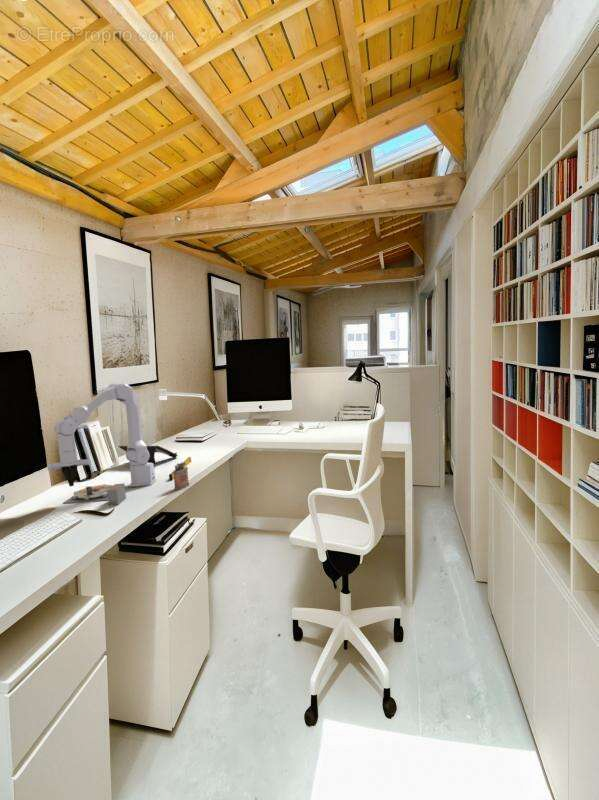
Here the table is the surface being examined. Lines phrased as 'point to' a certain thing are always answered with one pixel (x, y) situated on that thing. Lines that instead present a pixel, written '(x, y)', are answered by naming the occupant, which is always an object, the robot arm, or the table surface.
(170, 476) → the spirit level
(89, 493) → the sprocket
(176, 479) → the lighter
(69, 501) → the base plate
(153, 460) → the portable electronic device stand
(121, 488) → the orange striped gray block
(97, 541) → the table surface
